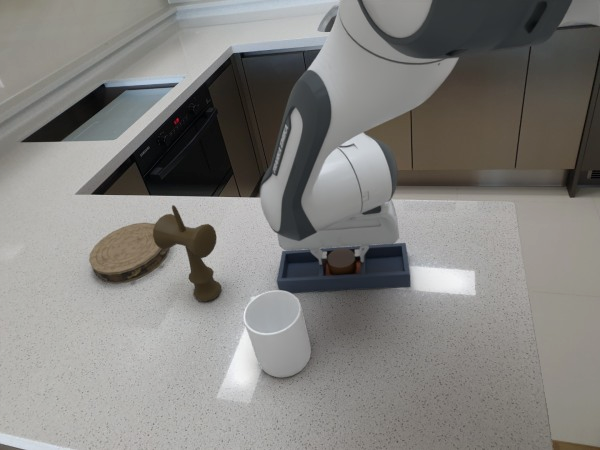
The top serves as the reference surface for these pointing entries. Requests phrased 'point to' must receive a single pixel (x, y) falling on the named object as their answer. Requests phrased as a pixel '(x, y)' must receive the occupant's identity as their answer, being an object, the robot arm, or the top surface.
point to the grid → (369, 275)
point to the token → (341, 262)
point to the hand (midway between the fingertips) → (341, 261)
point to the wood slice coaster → (127, 254)
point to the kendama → (190, 250)
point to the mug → (278, 332)
